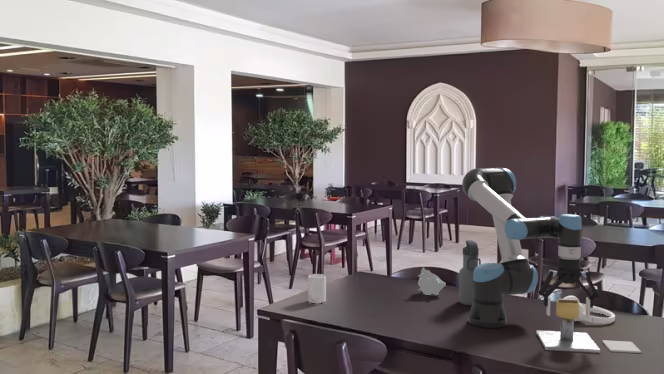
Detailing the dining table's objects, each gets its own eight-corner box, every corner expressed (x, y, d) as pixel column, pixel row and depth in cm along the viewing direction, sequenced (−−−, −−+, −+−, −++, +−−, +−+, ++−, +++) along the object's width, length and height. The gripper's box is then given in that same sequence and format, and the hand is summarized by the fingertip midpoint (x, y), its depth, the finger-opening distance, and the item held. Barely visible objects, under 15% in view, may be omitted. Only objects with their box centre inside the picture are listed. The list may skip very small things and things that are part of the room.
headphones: (566, 323, 237) (619, 331, 233) (569, 303, 236) (622, 311, 232) (558, 309, 256) (607, 316, 252) (560, 291, 255) (610, 298, 251)
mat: (610, 351, 205) (610, 349, 205) (602, 341, 215) (602, 340, 215) (641, 353, 204) (641, 351, 204) (631, 343, 214) (631, 341, 214)
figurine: (448, 293, 284) (424, 283, 292) (448, 269, 276) (423, 259, 284) (436, 305, 277) (412, 294, 285) (436, 281, 270) (411, 270, 278)
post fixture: (545, 349, 207) (546, 322, 206) (536, 333, 225) (537, 307, 224) (599, 352, 204) (601, 324, 203) (586, 335, 222) (587, 309, 221)
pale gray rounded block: (301, 305, 263) (301, 279, 262) (311, 298, 274) (311, 273, 273) (318, 307, 260) (318, 280, 259) (328, 300, 271) (328, 274, 270)
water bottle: (484, 305, 262) (485, 243, 260) (462, 306, 261) (463, 243, 259) (476, 299, 272) (478, 239, 270) (456, 300, 271) (457, 239, 269)
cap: (558, 318, 211) (559, 301, 210) (554, 312, 218) (554, 296, 218) (581, 319, 209) (581, 302, 209) (575, 313, 217) (576, 297, 216)
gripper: (535, 258, 210) (533, 317, 212) (609, 260, 206) (607, 320, 208) (531, 254, 218) (530, 311, 219) (603, 256, 214) (601, 314, 215)
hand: (567, 315), depth 213 cm, fingers open, 13 cm apart
